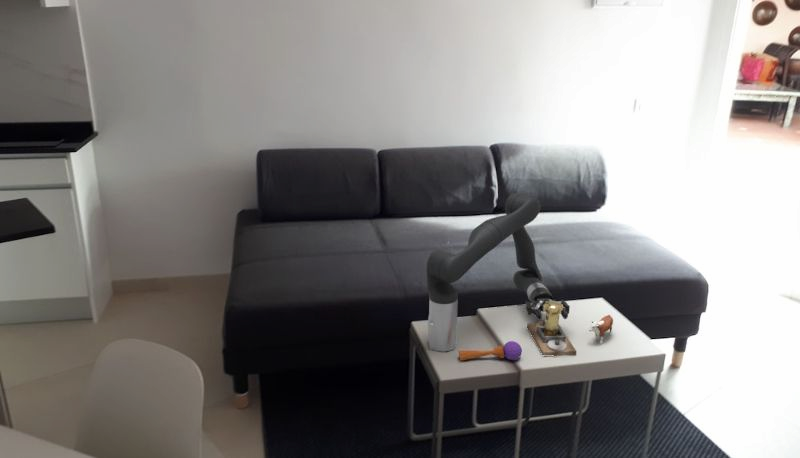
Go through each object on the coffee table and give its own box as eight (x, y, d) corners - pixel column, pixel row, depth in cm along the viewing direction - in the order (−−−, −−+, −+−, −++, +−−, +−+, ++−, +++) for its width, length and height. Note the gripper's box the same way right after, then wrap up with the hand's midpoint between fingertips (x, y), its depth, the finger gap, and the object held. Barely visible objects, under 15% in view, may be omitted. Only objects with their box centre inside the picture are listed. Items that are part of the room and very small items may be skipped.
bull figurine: (584, 344, 211) (586, 322, 209) (604, 330, 220) (606, 309, 218) (596, 348, 208) (599, 326, 206) (615, 334, 217) (618, 313, 215)
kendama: (458, 343, 204) (518, 337, 204) (459, 361, 205) (519, 355, 205) (460, 349, 198) (523, 343, 199) (461, 367, 199) (524, 361, 199)
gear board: (542, 356, 204) (543, 346, 202) (526, 327, 222) (527, 318, 221) (576, 355, 204) (577, 345, 203) (557, 326, 223) (557, 317, 222)
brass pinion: (543, 341, 210) (546, 309, 206) (538, 332, 216) (541, 301, 212) (562, 340, 210) (565, 308, 206) (557, 332, 216) (560, 300, 212)
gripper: (520, 287, 223) (533, 307, 208) (560, 286, 224) (575, 306, 209) (519, 306, 225) (531, 327, 210) (558, 305, 226) (573, 326, 211)
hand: (553, 317), depth 209 cm, fingers open, 8 cm apart
